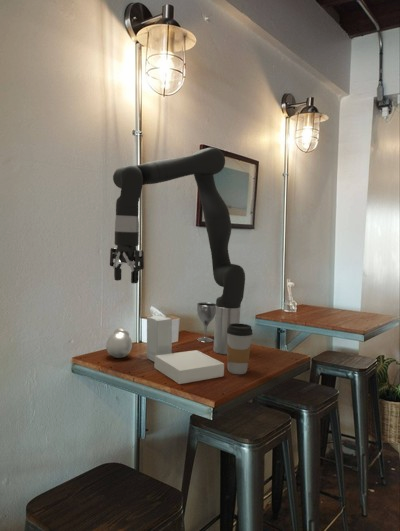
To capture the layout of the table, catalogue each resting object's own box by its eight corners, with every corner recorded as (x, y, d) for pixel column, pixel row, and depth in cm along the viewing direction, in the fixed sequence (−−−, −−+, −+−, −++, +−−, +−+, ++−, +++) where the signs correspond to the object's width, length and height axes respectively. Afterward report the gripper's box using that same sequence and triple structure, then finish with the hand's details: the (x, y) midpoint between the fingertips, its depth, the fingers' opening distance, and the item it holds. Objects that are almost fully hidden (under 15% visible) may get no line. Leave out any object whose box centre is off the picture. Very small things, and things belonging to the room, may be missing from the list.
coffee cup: (224, 366, 142) (226, 322, 140) (249, 367, 141) (251, 323, 140) (224, 374, 133) (227, 328, 132) (251, 376, 133) (254, 329, 132)
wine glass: (191, 339, 174) (193, 303, 173) (203, 336, 180) (205, 301, 179) (206, 343, 169) (208, 306, 168) (218, 340, 175) (220, 304, 174)
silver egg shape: (137, 356, 148) (139, 328, 147) (120, 363, 139) (121, 333, 139) (117, 351, 152) (118, 324, 151) (99, 357, 144) (100, 329, 143)
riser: (196, 361, 145) (196, 350, 145) (223, 376, 132) (224, 363, 131) (154, 367, 136) (154, 355, 136) (179, 384, 123) (179, 370, 123)
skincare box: (171, 362, 143) (173, 319, 142) (155, 364, 140) (157, 320, 139) (160, 355, 150) (162, 314, 149) (144, 357, 147) (146, 315, 146)
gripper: (150, 231, 131) (149, 283, 132) (122, 230, 140) (121, 278, 142) (131, 231, 125) (130, 285, 127) (103, 229, 135) (102, 280, 136)
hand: (125, 281), depth 134 cm, fingers open, 8 cm apart
